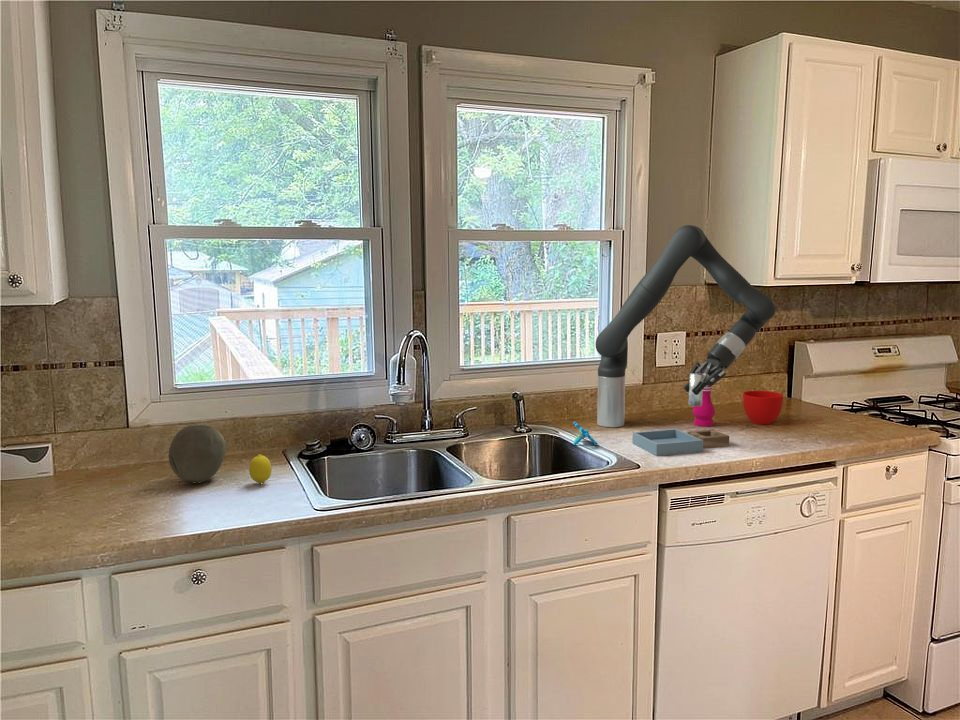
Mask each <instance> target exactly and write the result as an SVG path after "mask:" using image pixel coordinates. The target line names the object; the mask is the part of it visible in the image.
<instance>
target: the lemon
mask: <svg viewBox="0 0 960 720" xmlns="http://www.w3.org/2000/svg"><path fill="white" fill-rule="evenodd" d="M248 470H249V476H250V478H251V480H252V481H254V482H257V483H258V484H259V483H263V484H264V483H265V482H267V480H269V479H270V477H271V476H272V464H271V461H270V460H269V458H268V457H267V456H265V455H262V454H257V455H256V456H254V457H253V458H252V459H251V461H250V462H249V469H248Z"/></svg>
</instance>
